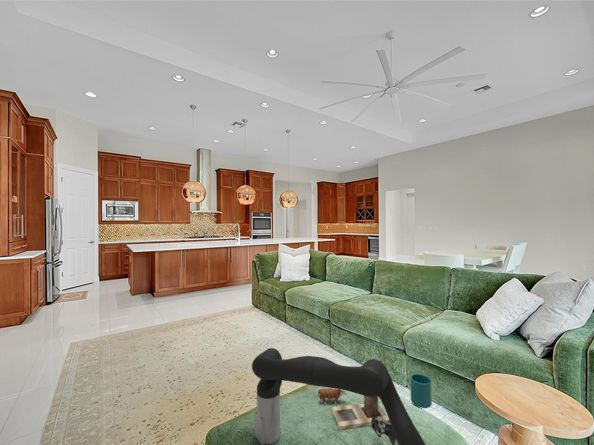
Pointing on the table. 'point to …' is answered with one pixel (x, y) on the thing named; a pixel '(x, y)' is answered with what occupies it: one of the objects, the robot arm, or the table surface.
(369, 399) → the walnut block
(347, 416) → the puzzle board
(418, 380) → the cup
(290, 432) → the table surface
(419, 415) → the table surface
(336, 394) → the bull figurine
